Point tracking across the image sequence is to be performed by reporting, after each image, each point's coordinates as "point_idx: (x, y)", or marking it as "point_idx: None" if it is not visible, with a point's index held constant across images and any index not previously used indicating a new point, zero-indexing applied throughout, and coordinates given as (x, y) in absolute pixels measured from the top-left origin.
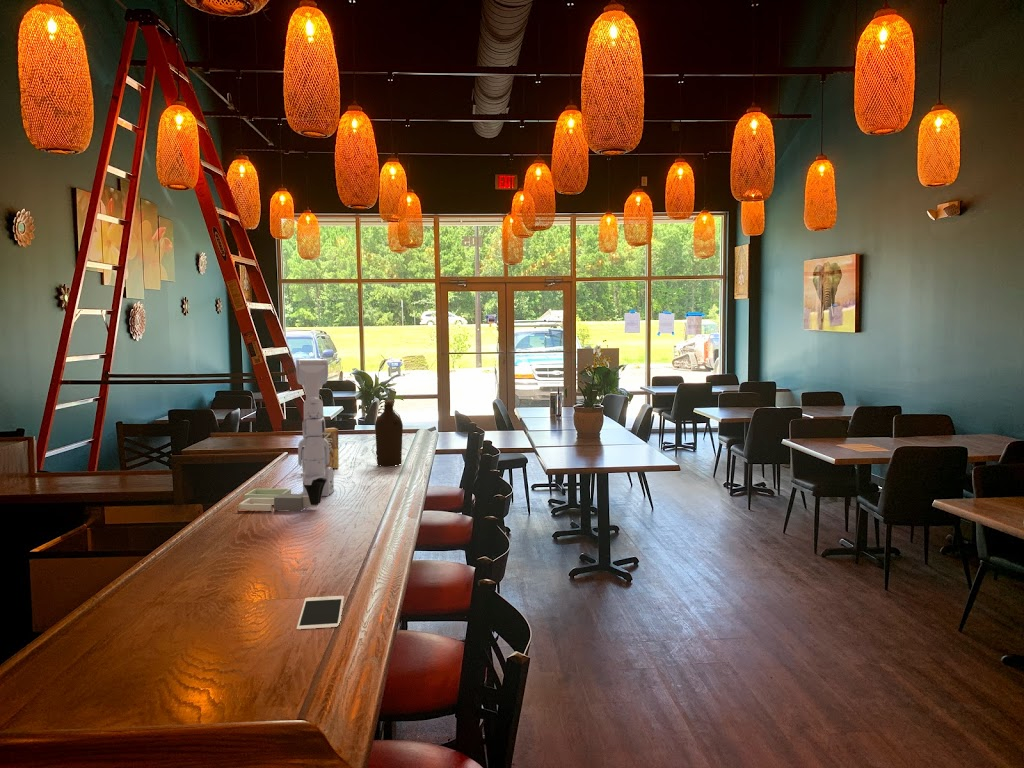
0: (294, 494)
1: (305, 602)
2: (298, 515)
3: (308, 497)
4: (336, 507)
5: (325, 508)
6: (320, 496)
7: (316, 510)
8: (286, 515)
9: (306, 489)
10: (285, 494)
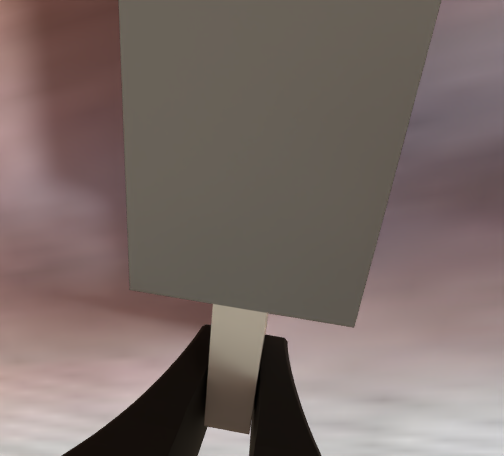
0: (358, 178)
1: None
2: (34, 216)
3: (211, 354)
4: None
5: None
6: (249, 451)
7: None
8: (11, 107)
9: (81, 444)
10: (387, 10)
